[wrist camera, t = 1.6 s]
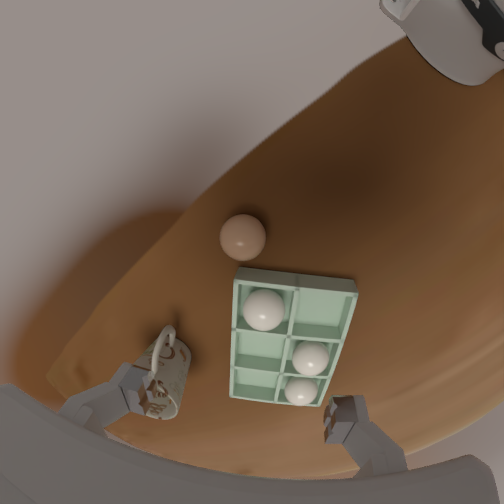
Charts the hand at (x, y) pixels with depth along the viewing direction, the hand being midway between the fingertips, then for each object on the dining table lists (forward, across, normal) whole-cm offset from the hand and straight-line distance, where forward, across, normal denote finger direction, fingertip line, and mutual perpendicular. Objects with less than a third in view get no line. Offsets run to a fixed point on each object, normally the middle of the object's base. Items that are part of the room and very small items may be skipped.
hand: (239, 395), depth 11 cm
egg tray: (+21, -3, +12) cm, 24 cm away
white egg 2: (+20, -6, +12) cm, 24 cm away
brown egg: (+20, +3, -2) cm, 20 cm away
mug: (+21, +12, +16) cm, 29 cm away
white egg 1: (+20, 0, +6) cm, 21 cm away
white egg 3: (+20, -6, +19) cm, 28 cm away
